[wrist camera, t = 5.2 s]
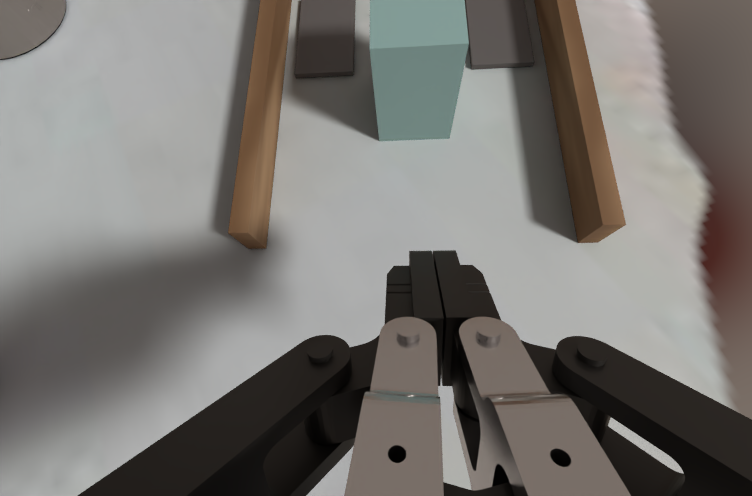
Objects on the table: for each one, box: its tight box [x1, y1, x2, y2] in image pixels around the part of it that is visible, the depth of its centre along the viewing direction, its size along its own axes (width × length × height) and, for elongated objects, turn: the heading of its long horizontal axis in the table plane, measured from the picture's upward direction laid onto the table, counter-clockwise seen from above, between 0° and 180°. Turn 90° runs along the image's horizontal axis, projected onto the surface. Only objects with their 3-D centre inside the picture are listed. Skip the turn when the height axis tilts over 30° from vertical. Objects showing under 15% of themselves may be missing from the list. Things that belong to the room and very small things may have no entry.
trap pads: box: [295, 0, 534, 78], centre depth 29 cm, size 18×8×1 cm, turn 90°
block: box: [370, 0, 469, 141], centre depth 23 cm, size 5×6×8 cm
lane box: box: [228, 0, 626, 249], centre depth 25 cm, size 22×29×6 cm
